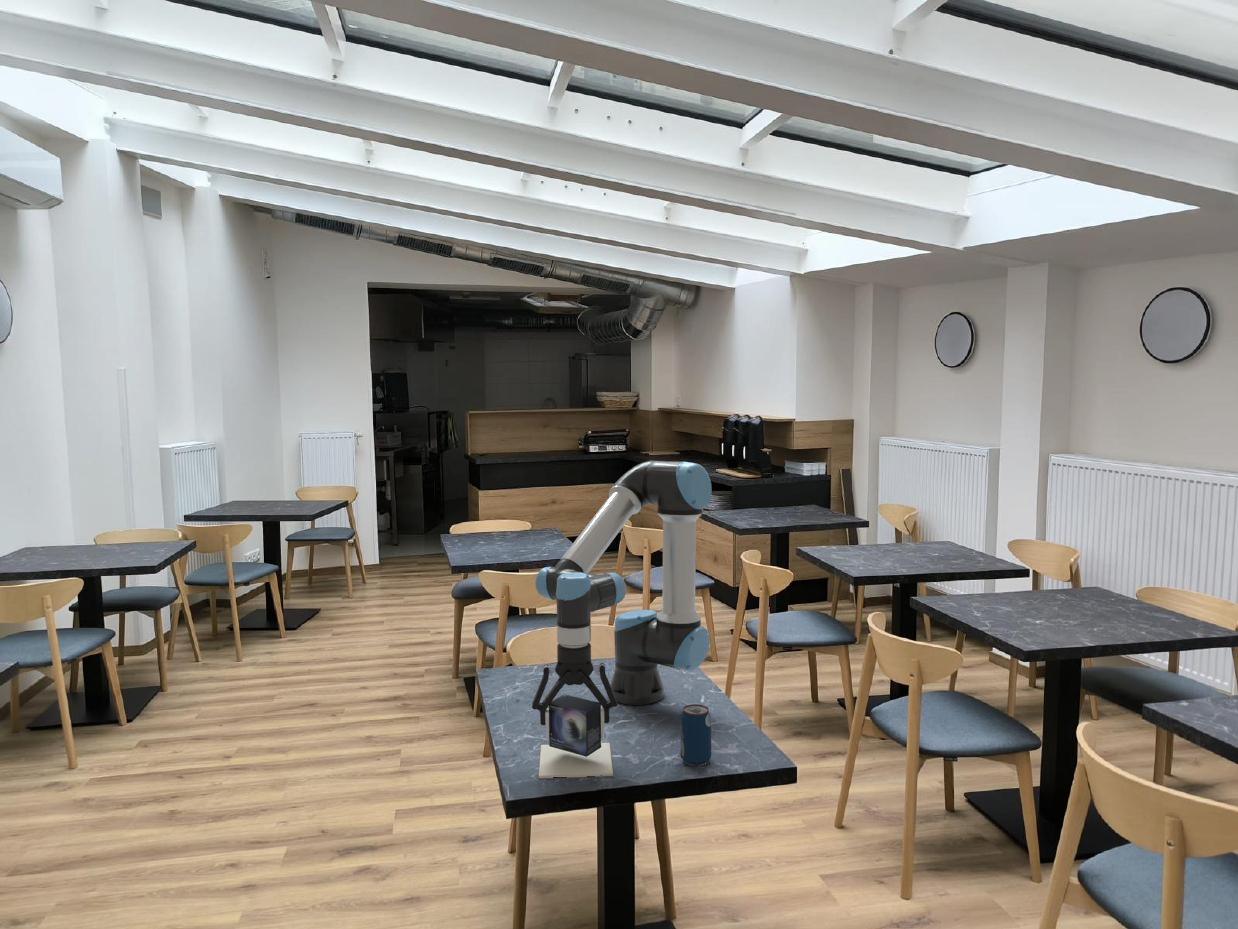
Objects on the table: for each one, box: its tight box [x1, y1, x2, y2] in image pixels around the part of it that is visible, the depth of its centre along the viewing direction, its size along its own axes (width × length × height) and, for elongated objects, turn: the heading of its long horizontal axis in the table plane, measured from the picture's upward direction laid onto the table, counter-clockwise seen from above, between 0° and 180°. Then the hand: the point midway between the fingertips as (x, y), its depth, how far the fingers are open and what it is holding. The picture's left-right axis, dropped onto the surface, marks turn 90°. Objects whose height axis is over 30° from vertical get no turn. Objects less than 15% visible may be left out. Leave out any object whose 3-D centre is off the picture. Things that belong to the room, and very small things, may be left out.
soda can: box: [679, 704, 712, 766], centre depth 188 cm, size 7×7×12 cm
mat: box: [538, 742, 614, 779], centre depth 189 cm, size 16×16×1 cm
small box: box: [548, 694, 602, 757], centre depth 188 cm, size 11×6×10 cm, turn 58°
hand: (575, 737), depth 188 cm, fingers closed on small box, 12 cm apart
